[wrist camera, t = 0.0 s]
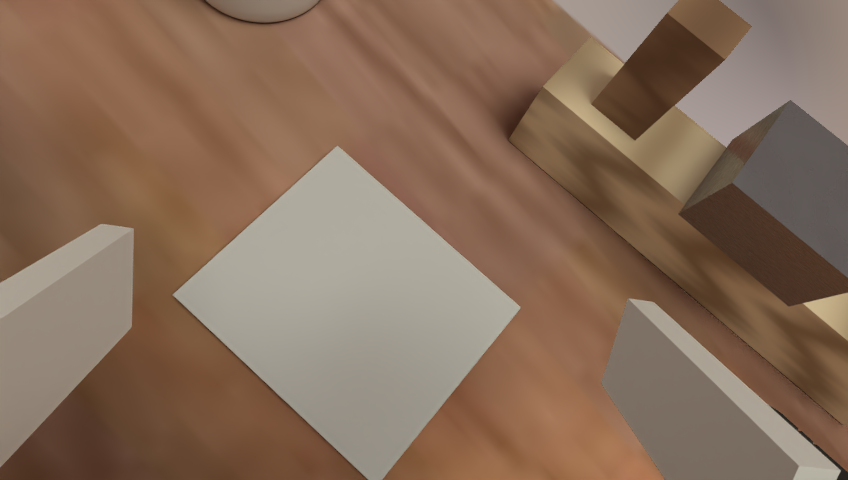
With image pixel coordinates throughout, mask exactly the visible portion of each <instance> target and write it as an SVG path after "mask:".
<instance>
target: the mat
mask: <svg viewBox="0 0 848 480" xmlns="http://www.w3.org/2000/svg"><path fill="white" fill-rule="evenodd" d="M173 296H174V297H175V298H177V299H178V300H179V301H180V302H181V303H182V304H183V305H184V306H185V307H186V308H187V309H188V310H189V311H190V312H191V313H192V314H193V315H194V316H196V317H197V318H198V319H199V320H200V321H201V322H202V323H203V324H204V325H205V326H206V327H207V328H208V329H209V330H210V331H211V332H212V333H214V334H215V335H216V336H217V337H218V338H219V339H220V340H221V341H222V342H223V343H224V344H225V345H226V346H227V347H228V348H229V349H230V350H232V351H233V352H234V353H235V354H236V355H237V356H238V357H239V358H240V359H241V360H242V361H243V362H244V363H245V364H246V365H247V366H248V367H250V368H251V369H252V370H253V371H254V372H255V373H256V374H257V375H258V376H259V377H260V378H261V379H262V380H263V381H264V382H265V383H266V384H268V385H269V386H270V387H271V388H272V389H273V390H274V391H275V392H276V393H277V394H278V395H279V396H280V397H281V398H282V399H283V400H284V401H285V402H287V403H288V404H289V405H290V406H291V407H292V408H293V409H294V410H295V411H296V412H297V413H298V414H299V415H300V416H301V417H302V418H303V419H305V420H306V421H307V422H308V423H309V424H310V425H311V426H312V427H313V428H314V429H315V430H316V431H317V432H318V433H319V434H320V435H321V436H323V437H324V438H325V439H326V440H327V441H328V442H329V443H330V444H331V445H332V446H333V447H334V448H335V449H336V450H337V451H338V452H339V453H341V454H342V455H343V456H344V457H345V458H346V459H347V460H348V461H349V462H350V463H351V464H352V465H353V466H354V467H355V468H356V469H357V470H359V471H360V472H361V473H362V474H363V475H364V476H365V477H366V478H367V479H368V480H382V479H383V478H384V476H385V475H386V474H387V473H388V472H389V470H390V469H391V468H392V467H393V465H394V464H395V463H396V462H397V460H398V459H399V458H400V457H401V455H402V454H403V453H404V452H405V450H406V449H407V448H408V447H409V446H410V444H411V443H412V442H413V441H414V439H415V438H416V437H417V436H418V434H419V433H420V432H421V431H422V429H423V428H424V427H425V426H426V424H427V423H428V422H429V421H430V420H431V418H432V417H433V416H434V415H435V413H436V412H437V411H438V410H439V408H440V407H441V406H442V405H443V403H444V402H445V401H446V400H447V398H448V397H449V396H450V395H451V394H452V392H453V391H454V390H455V389H456V387H457V386H458V385H459V384H460V382H461V381H462V380H463V379H464V377H465V376H466V375H467V374H468V372H469V371H470V370H471V369H472V367H473V366H474V365H475V364H476V363H477V361H478V360H479V359H480V358H481V356H482V355H483V354H484V353H485V351H486V350H487V349H488V348H489V346H490V345H491V344H492V343H493V341H494V340H495V339H496V338H497V337H498V335H499V334H500V333H501V332H502V330H503V329H504V328H505V327H506V325H507V324H508V323H509V322H510V320H511V319H512V318H513V317H514V315H515V314H516V313H517V312H518V311H519V309H520V308H521V307H520V306H519V305H517V304H516V303H515V302H514V301H513V300H512V299H511V298H510V297H508V296H507V295H506V294H505V293H504V292H503V291H502V290H500V289H499V288H498V287H497V286H496V285H495V284H494V283H493V282H491V281H490V280H489V279H488V278H487V277H486V276H485V275H483V274H482V273H481V272H480V271H479V270H478V269H477V268H476V267H474V266H473V265H472V264H471V263H470V262H469V261H468V260H466V259H465V258H464V257H463V256H462V255H461V254H460V253H459V252H457V251H456V250H455V249H454V248H453V247H452V246H451V245H449V244H448V243H447V242H446V241H445V240H444V239H443V238H442V237H440V236H439V235H438V234H437V233H436V232H435V231H434V230H432V229H431V228H430V227H429V226H428V225H427V224H426V223H425V222H423V221H422V220H421V219H420V218H419V217H418V216H417V215H415V214H414V213H413V212H412V211H411V210H410V209H409V208H408V207H406V206H405V205H404V204H403V203H402V202H401V201H400V200H398V199H397V198H396V197H395V196H394V195H393V194H392V193H390V192H389V191H388V190H387V189H386V188H385V187H384V186H383V185H381V184H380V183H379V182H378V181H377V180H376V179H375V178H373V177H372V176H371V175H370V174H369V173H368V172H367V171H366V170H364V169H363V168H362V167H361V166H360V165H359V164H358V163H356V162H355V161H354V160H353V159H352V158H351V157H350V156H349V155H347V154H346V153H345V152H344V151H343V150H342V149H341V148H339V147H338V146H336V147H335V148H334V149H333V150H332V151H331V152H330V153H329V154H328V155H326V156H325V157H324V158H323V159H322V160H321V161H320V162H319V163H318V164H317V165H315V166H314V167H313V168H312V169H311V170H310V171H309V172H308V173H307V174H305V175H304V176H303V177H302V178H301V179H300V180H299V181H298V182H297V183H296V184H294V185H293V186H292V187H291V188H290V189H289V190H288V191H287V192H286V193H284V194H283V195H282V196H281V197H280V198H279V199H278V200H277V201H276V202H275V203H273V204H272V205H271V206H270V207H269V208H268V209H267V210H266V211H265V212H263V213H262V214H261V215H260V216H259V217H258V218H257V219H256V220H255V221H254V222H252V223H251V224H250V225H249V226H248V227H247V228H246V229H245V230H244V231H242V232H241V233H240V234H239V235H238V236H237V237H236V238H235V239H234V240H233V241H231V242H230V243H229V244H228V245H227V246H226V247H225V248H224V249H223V250H222V251H220V252H219V253H218V254H217V255H216V256H215V257H214V258H213V259H212V260H210V261H209V262H208V263H207V264H206V265H205V266H204V267H203V268H202V269H201V270H199V271H198V272H197V273H196V274H195V275H194V276H193V277H192V278H191V279H189V280H188V281H187V282H186V283H185V284H184V285H183V286H182V287H181V288H180V289H178V290H177V291H176V292H175V293H174V294H173Z"/></svg>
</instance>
